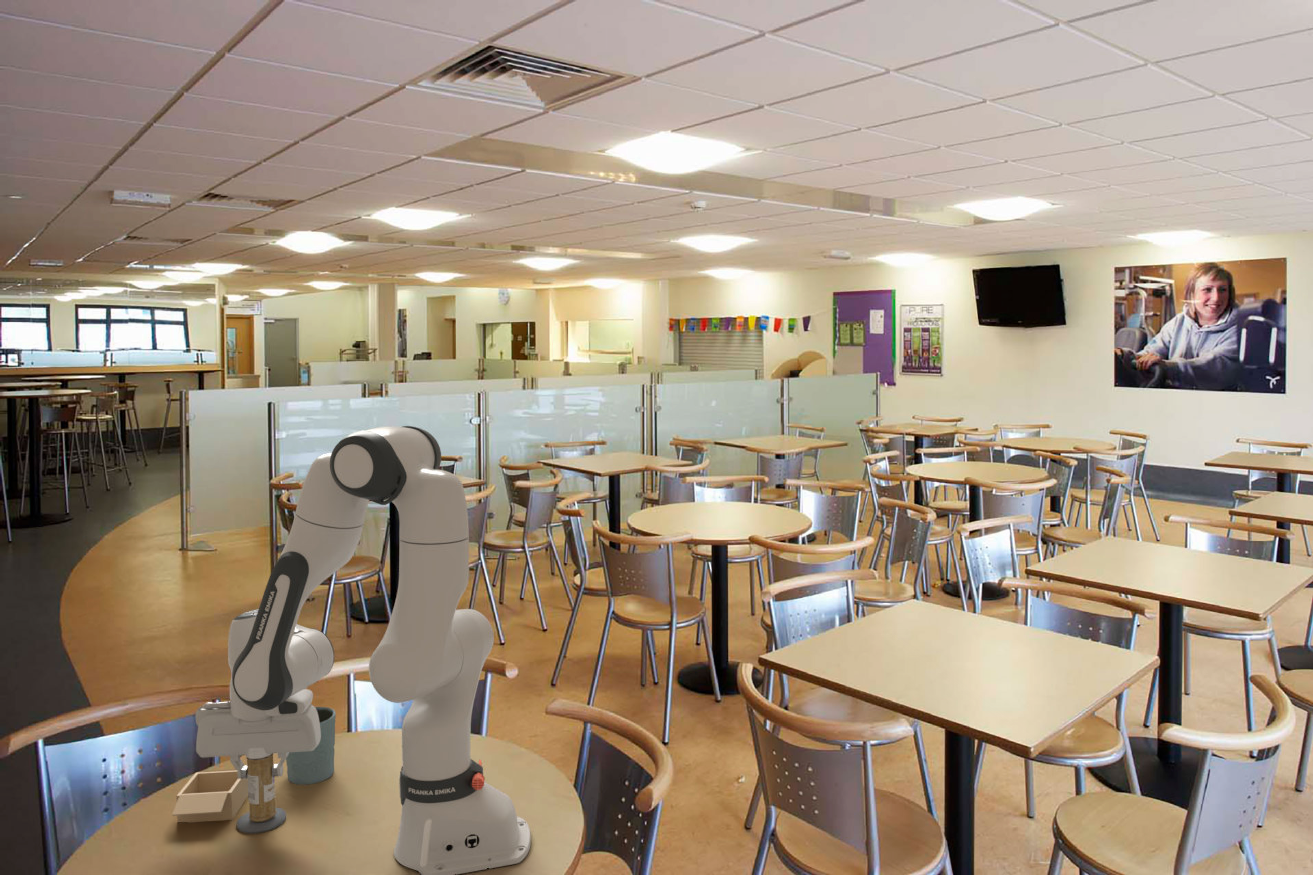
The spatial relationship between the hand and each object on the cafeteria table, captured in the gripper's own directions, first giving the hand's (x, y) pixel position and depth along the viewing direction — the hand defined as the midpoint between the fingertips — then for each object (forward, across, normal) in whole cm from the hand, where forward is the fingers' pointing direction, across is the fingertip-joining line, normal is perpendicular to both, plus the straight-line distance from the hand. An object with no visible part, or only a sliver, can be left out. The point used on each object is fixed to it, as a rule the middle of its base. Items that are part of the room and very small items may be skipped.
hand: (260, 776), depth 157 cm
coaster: (+8, 0, 0) cm, 8 cm away
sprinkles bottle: (+8, 0, 0) cm, 8 cm away
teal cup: (+8, +4, +18) cm, 20 cm away
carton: (+8, -10, +6) cm, 14 cm away
